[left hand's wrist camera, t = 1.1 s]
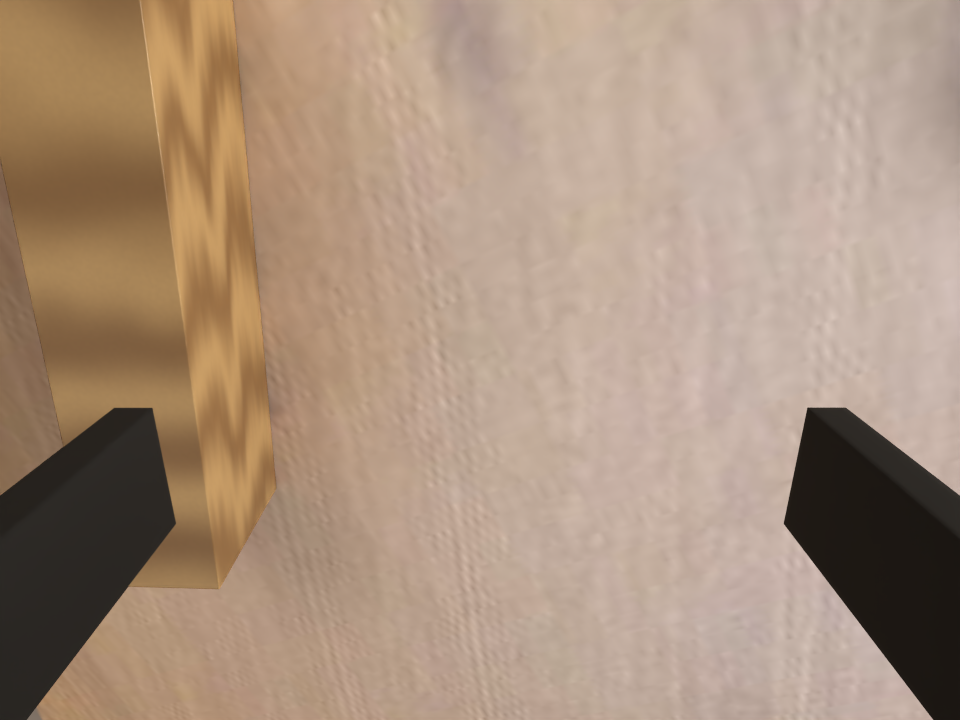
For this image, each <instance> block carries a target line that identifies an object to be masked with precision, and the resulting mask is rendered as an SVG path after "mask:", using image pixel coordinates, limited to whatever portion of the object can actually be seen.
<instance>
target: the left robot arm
mask: <svg viewBox="0 0 960 720" xmlns="http://www.w3.org/2000/svg"><path fill="white" fill-rule="evenodd" d="M175 525H176V520H175V515H174V511H173V506H172V501H171V496H170V491H169V486H168V481H167V476H166V472H165V467H164V462H163V457H162V452H161V447H160V442H159V437H158V432H157V428H156V423H155V418H154V413H153V408H113V409H112V410H111V411H109V412H108V413H107V414H105V415H104V416H103V417H102V418H100V419H99V420H98V421H96V422H95V423H94V424H93V425H91V426H90V427H89V428H87V429H86V430H85V431H83V432H82V433H81V434H80V435H78V436H77V437H76V438H74V439H73V440H72V441H70V442H69V443H68V444H67V445H65V446H64V447H63V448H61V449H60V450H59V451H58V452H56V453H55V454H54V455H52V456H51V457H50V458H48V459H47V460H46V461H45V462H43V463H42V464H41V465H39V466H38V467H37V468H35V469H34V470H33V471H32V472H30V473H29V474H28V475H26V476H25V477H24V478H23V479H21V480H20V481H19V482H17V483H16V484H15V485H13V486H12V487H11V488H10V489H8V490H7V491H6V492H4V493H3V494H2V495H0V720H27V719H28V717H29V716H30V715H31V713H32V712H33V711H34V709H35V708H36V707H37V705H38V704H39V703H40V702H41V700H42V699H43V698H44V696H45V695H46V694H47V692H48V691H49V690H50V688H51V687H52V686H53V685H54V683H55V682H56V681H57V679H58V678H59V677H60V675H61V674H62V673H63V671H64V670H65V669H66V667H67V666H68V665H69V664H70V662H71V661H72V660H73V658H74V657H75V656H76V654H77V653H78V652H79V650H80V649H81V648H82V647H83V645H84V644H85V643H86V641H87V640H88V639H89V637H90V636H91V635H92V633H93V632H94V631H95V629H96V628H97V627H98V626H99V624H100V623H101V622H102V620H103V619H104V618H105V616H106V615H107V614H108V612H109V611H110V610H111V608H112V607H113V606H114V605H115V603H116V602H117V601H118V599H119V598H120V597H121V595H122V594H123V593H124V591H125V590H126V589H127V588H128V586H129V585H130V584H131V582H132V581H133V580H134V578H135V577H136V576H137V574H138V573H139V572H140V570H141V569H142V568H143V567H144V565H145V564H146V563H147V561H148V560H149V559H150V557H151V556H152V555H153V553H154V552H155V551H156V550H157V548H158V547H159V546H160V544H161V543H162V542H163V540H164V539H165V538H166V536H167V535H168V534H169V532H170V531H171V530H172V529H173V527H174V526H175ZM784 525H785V526H786V527H787V529H788V530H789V531H790V532H791V534H792V535H793V536H794V538H795V539H796V540H797V542H798V543H799V544H800V546H801V547H802V548H803V550H804V551H805V552H806V553H807V555H808V556H809V557H810V559H811V560H812V561H813V563H814V564H815V565H816V567H817V568H818V569H819V570H820V572H821V573H822V574H823V576H824V577H825V578H826V580H827V581H828V582H829V584H830V585H831V586H832V588H833V589H834V590H835V591H836V593H837V594H838V595H839V597H840V598H841V599H842V601H843V602H844V603H845V605H846V606H847V607H848V609H849V610H850V611H851V612H852V614H853V615H854V616H855V618H856V619H857V620H858V622H859V623H860V624H861V626H862V627H863V628H864V629H865V631H866V632H867V633H868V635H869V636H870V637H871V639H872V640H873V641H874V643H875V644H876V645H877V647H878V648H879V649H880V650H881V652H882V653H883V654H884V656H885V657H886V658H887V660H888V661H889V662H890V664H891V665H892V666H893V667H894V669H895V670H896V671H897V673H898V674H899V675H900V677H901V678H902V679H903V681H904V682H905V683H906V685H907V686H908V687H909V688H910V690H911V691H912V692H913V694H914V695H915V696H916V698H917V699H918V700H919V702H920V703H921V704H922V705H923V707H924V708H925V709H926V711H927V712H928V713H929V715H930V716H931V717H932V719H933V720H960V495H958V494H957V493H956V492H954V491H953V490H952V489H950V488H949V487H948V486H947V485H945V484H944V483H943V482H941V481H940V480H939V479H937V478H936V477H935V476H934V475H932V474H931V473H930V472H928V471H927V470H926V469H925V468H923V467H922V466H921V465H919V464H918V463H917V462H915V461H914V460H913V459H912V458H910V457H909V456H908V455H906V454H905V453H904V452H902V451H901V450H900V449H899V448H897V447H896V446H895V445H893V444H892V443H891V442H890V441H888V440H887V439H886V438H884V437H883V436H882V435H880V434H879V433H878V432H877V431H875V430H874V429H873V428H871V427H870V426H869V425H867V424H866V423H865V422H864V421H862V420H861V419H860V418H858V417H857V416H856V415H855V414H853V413H852V412H851V411H849V410H848V409H847V408H807V413H806V418H805V423H804V428H803V432H802V437H801V442H800V447H799V452H798V457H797V462H796V467H795V471H794V476H793V481H792V486H791V491H790V496H789V501H788V506H787V511H786V515H785V520H784Z"/></svg>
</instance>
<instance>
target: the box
mask: <svg viewBox="0 0 960 720" xmlns="http://www.w3.org/2000/svg"><path fill="white" fill-rule="evenodd" d="M0 161H1V166H2V170H3V175H4V179H5V184H6V188H7V193H8V197H9V202H10V206H11V211H12V216H13V220H14V225H15V229H16V234H17V238H18V243H19V247H20V252H21V256H22V261H23V266H24V270H25V275H26V279H27V284H28V288H29V293H30V297H31V302H32V306H33V311H34V315H35V320H36V325H37V329H38V334H39V338H40V343H41V347H42V352H43V356H44V361H45V365H46V370H47V375H48V379H49V384H50V388H51V393H52V397H53V402H54V406H55V411H56V415H57V420H58V424H59V429H60V434H61V438H62V443H63V447H64V446H65V445H67V444H68V443H69V442H70V441H72V440H73V439H74V438H76V437H77V436H78V435H80V434H81V433H82V432H83V431H85V430H86V429H87V428H89V427H90V426H91V425H93V424H94V423H95V422H96V421H98V420H99V419H100V418H102V417H103V416H104V415H105V414H107V413H108V412H109V411H111V410H112V409H113V408H153V413H154V418H155V423H156V428H157V432H158V437H159V442H160V447H161V452H162V457H163V462H164V467H165V472H166V476H167V481H168V486H169V491H170V496H171V501H172V506H173V511H174V515H175V520H176V525H175V526H174V527H173V529H172V530H171V531H170V532H169V534H168V535H167V536H166V538H165V539H164V540H163V542H162V543H161V544H160V546H159V547H158V548H157V550H156V551H155V552H154V553H153V555H152V556H151V557H150V559H149V560H148V561H147V563H146V564H145V565H144V567H143V568H142V569H141V570H140V572H139V573H138V574H137V576H136V577H135V578H134V580H133V581H132V582H131V584H130V585H129V586H128V587H159V588H196V589H220V587H221V585H222V583H223V582H224V580H225V578H226V576H227V575H228V573H229V571H230V569H231V568H232V566H233V564H234V562H235V560H236V559H237V557H238V555H239V553H240V552H241V550H242V548H243V546H244V545H245V543H246V541H247V539H248V537H249V536H250V534H251V532H252V530H253V529H254V527H255V525H256V523H257V521H258V520H259V518H260V516H261V514H262V513H263V511H264V509H265V507H266V506H267V504H268V502H269V500H270V498H271V497H272V495H273V493H274V491H275V490H276V480H275V469H274V458H273V447H272V435H271V424H270V413H269V402H268V391H267V379H266V368H265V357H264V346H263V335H262V323H261V312H260V301H259V290H258V279H257V267H256V256H255V245H254V234H253V222H252V211H251V200H250V189H249V178H248V166H247V155H246V144H245V133H244V122H243V110H242V99H241V88H240V77H239V66H238V54H237V43H236V32H235V21H234V10H233V0H0Z"/></svg>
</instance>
